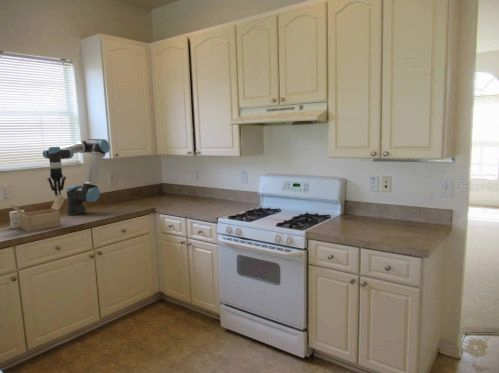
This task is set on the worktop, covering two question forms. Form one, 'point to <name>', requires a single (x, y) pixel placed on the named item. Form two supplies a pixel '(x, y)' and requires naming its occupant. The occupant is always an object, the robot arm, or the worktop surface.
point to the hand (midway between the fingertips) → (58, 199)
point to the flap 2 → (58, 203)
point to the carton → (40, 220)
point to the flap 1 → (17, 209)
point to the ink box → (15, 219)
